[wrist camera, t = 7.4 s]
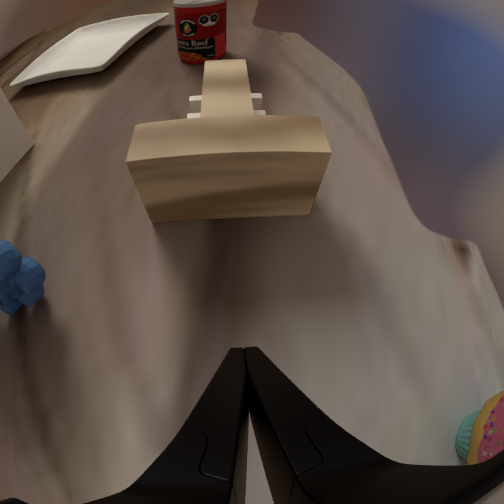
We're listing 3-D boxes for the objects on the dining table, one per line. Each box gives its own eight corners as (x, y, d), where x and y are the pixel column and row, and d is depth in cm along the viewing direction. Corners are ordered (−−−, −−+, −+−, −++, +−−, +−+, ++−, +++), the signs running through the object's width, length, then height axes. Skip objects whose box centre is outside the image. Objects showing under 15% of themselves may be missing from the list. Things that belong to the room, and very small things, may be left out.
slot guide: (271, 180, 27) (274, 162, 25) (185, 184, 27) (181, 167, 25) (259, 109, 32) (261, 93, 30) (191, 112, 32) (189, 96, 29)
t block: (308, 214, 26) (332, 152, 19) (152, 222, 25) (125, 161, 18) (285, 117, 32) (294, 60, 25) (166, 122, 31) (156, 65, 24)
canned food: (169, 62, 38) (162, 4, 28) (195, 44, 41) (192, -8, 31) (211, 67, 37) (209, 4, 27) (234, 49, 40) (235, -7, 30)
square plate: (172, 24, 48) (170, 10, 45) (106, 83, 36) (101, 64, 33) (81, 36, 49) (78, 25, 46) (13, 97, 37) (6, 84, 34)
